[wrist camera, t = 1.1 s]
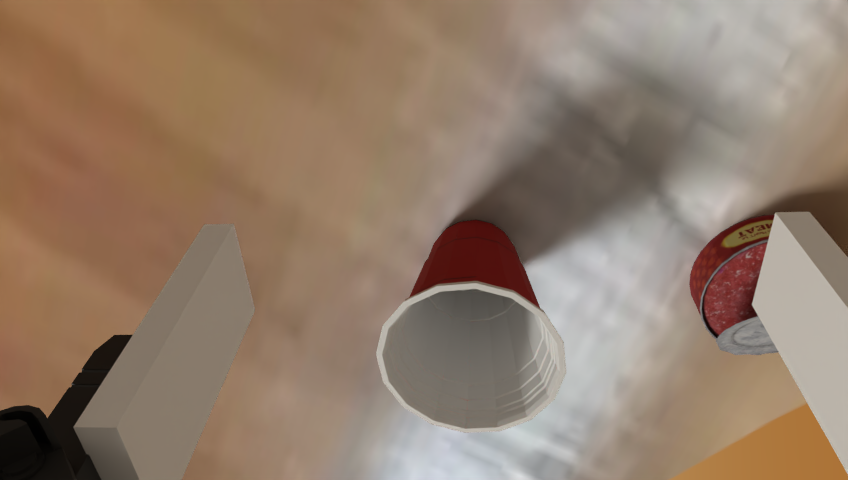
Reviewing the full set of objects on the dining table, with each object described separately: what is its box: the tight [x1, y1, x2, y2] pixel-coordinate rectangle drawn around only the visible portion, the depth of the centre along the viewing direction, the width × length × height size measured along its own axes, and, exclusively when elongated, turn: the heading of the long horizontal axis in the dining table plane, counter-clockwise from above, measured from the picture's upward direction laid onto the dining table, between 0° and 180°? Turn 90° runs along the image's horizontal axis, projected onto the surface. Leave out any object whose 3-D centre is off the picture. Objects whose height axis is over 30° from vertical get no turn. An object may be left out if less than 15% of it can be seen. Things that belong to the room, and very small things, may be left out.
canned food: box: [690, 215, 778, 355], centre depth 45 cm, size 11×10×10 cm
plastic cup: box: [376, 220, 566, 433], centre depth 43 cm, size 11×11×12 cm
